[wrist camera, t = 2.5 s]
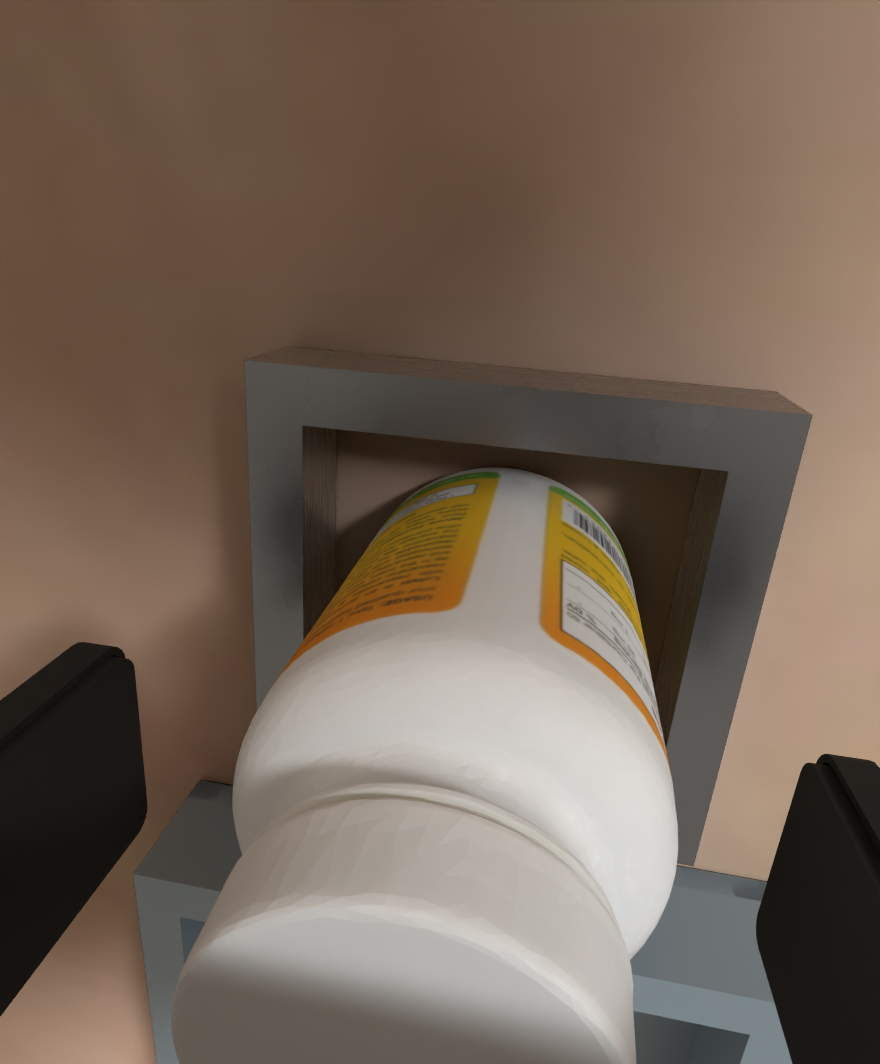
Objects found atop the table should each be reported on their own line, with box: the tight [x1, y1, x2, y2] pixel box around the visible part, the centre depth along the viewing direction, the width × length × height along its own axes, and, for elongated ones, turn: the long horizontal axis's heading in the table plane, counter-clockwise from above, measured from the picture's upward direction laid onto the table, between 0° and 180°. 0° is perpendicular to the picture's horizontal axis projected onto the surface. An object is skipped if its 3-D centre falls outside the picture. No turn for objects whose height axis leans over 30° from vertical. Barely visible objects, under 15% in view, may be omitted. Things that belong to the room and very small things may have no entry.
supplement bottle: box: [171, 467, 678, 1064], centre depth 10 cm, size 5×5×10 cm
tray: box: [133, 780, 792, 1064], centre depth 18 cm, size 11×14×3 cm
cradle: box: [244, 347, 812, 866], centre depth 14 cm, size 9×9×2 cm
